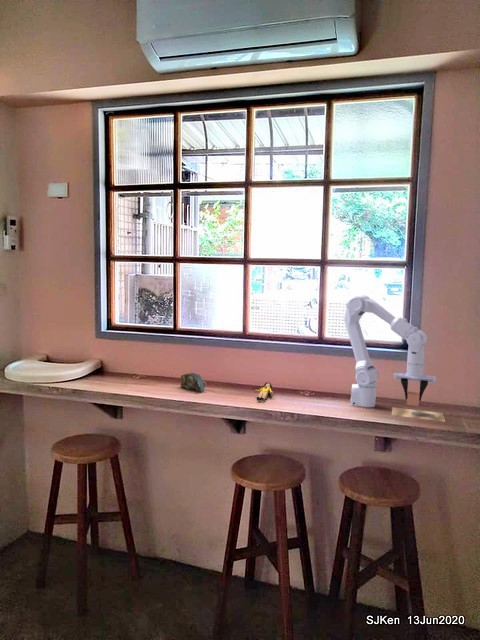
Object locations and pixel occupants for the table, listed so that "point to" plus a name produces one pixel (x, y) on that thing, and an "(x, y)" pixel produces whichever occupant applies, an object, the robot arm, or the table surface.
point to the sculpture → (193, 382)
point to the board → (418, 414)
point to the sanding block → (413, 398)
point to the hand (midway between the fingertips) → (412, 399)
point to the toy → (264, 392)
